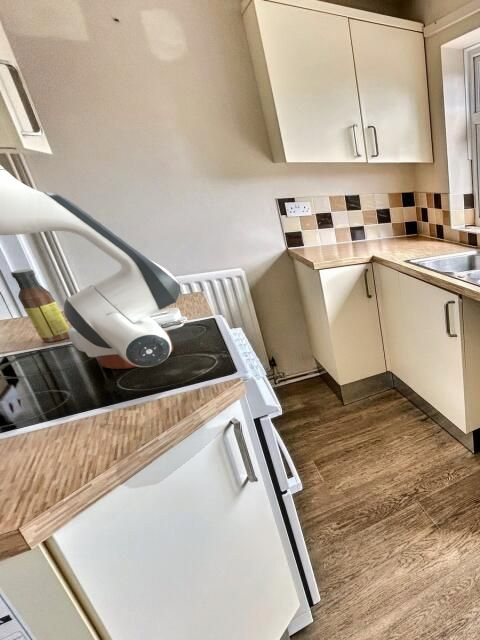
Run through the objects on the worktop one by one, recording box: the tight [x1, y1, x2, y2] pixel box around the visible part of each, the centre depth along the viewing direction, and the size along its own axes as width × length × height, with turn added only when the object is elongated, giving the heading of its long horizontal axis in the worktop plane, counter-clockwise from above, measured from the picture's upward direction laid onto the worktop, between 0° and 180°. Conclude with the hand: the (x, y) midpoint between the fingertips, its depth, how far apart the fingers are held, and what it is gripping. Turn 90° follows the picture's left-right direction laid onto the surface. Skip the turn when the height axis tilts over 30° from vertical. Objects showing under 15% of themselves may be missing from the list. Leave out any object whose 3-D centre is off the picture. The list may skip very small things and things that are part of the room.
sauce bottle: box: [10, 268, 71, 343], centre depth 116 cm, size 6×6×20 cm
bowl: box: [97, 330, 174, 370], centre depth 106 cm, size 14×14×6 cm
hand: (124, 319), depth 103 cm, fingers open, 8 cm apart
